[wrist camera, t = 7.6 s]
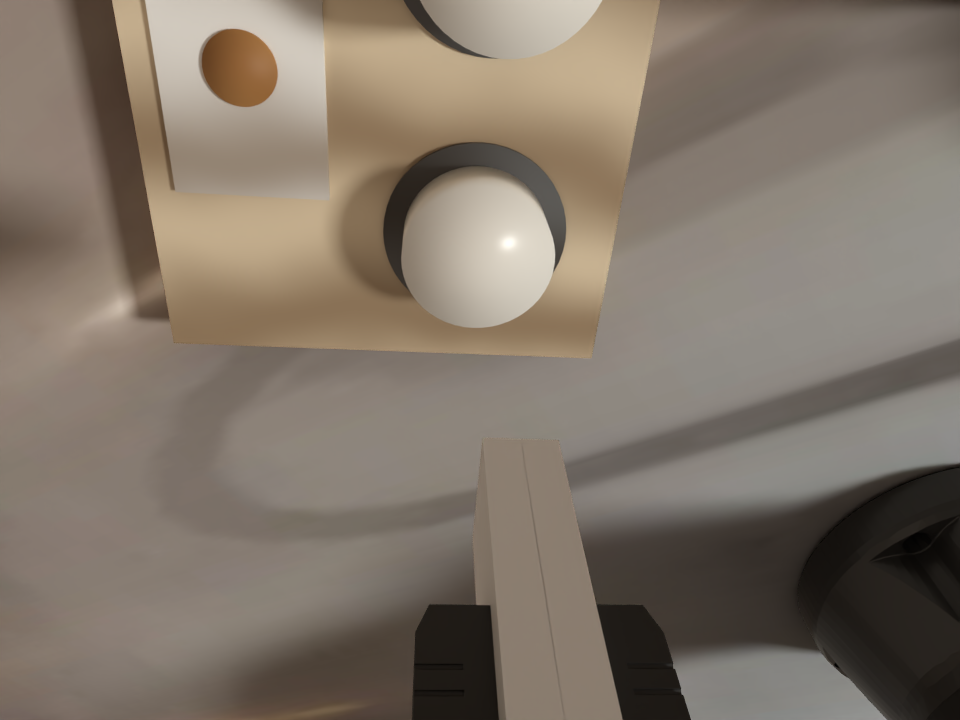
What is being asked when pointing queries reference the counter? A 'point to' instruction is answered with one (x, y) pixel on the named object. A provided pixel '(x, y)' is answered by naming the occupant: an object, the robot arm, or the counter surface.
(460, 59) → the button board
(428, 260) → the button
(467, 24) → the button
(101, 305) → the counter surface
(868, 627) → the robot arm
